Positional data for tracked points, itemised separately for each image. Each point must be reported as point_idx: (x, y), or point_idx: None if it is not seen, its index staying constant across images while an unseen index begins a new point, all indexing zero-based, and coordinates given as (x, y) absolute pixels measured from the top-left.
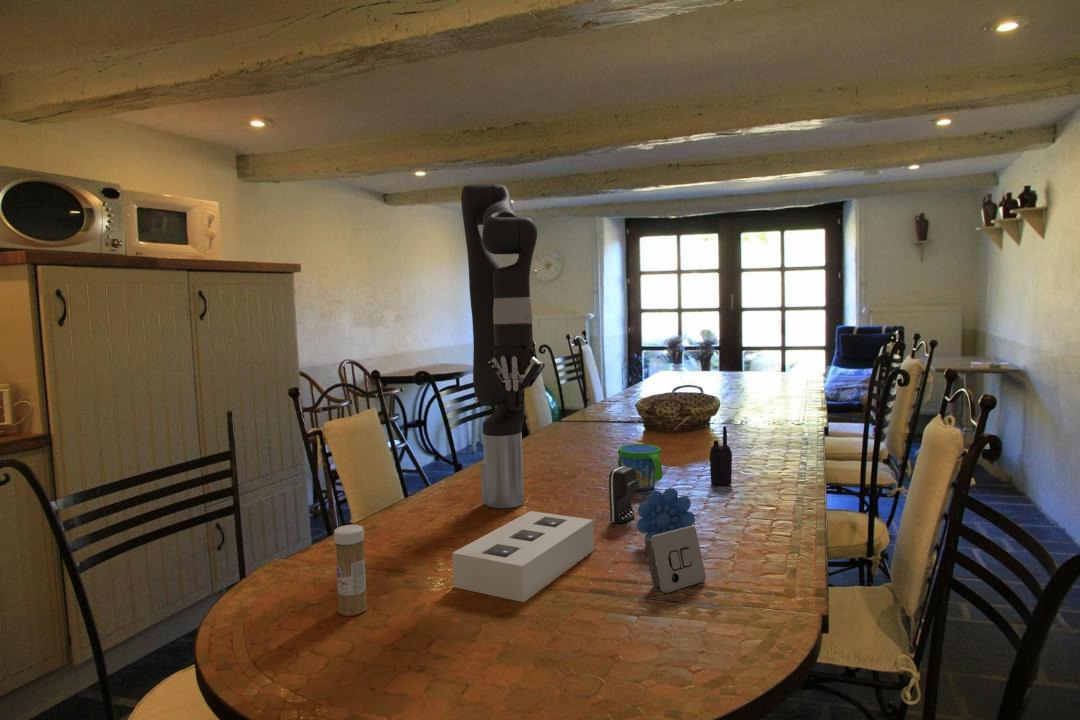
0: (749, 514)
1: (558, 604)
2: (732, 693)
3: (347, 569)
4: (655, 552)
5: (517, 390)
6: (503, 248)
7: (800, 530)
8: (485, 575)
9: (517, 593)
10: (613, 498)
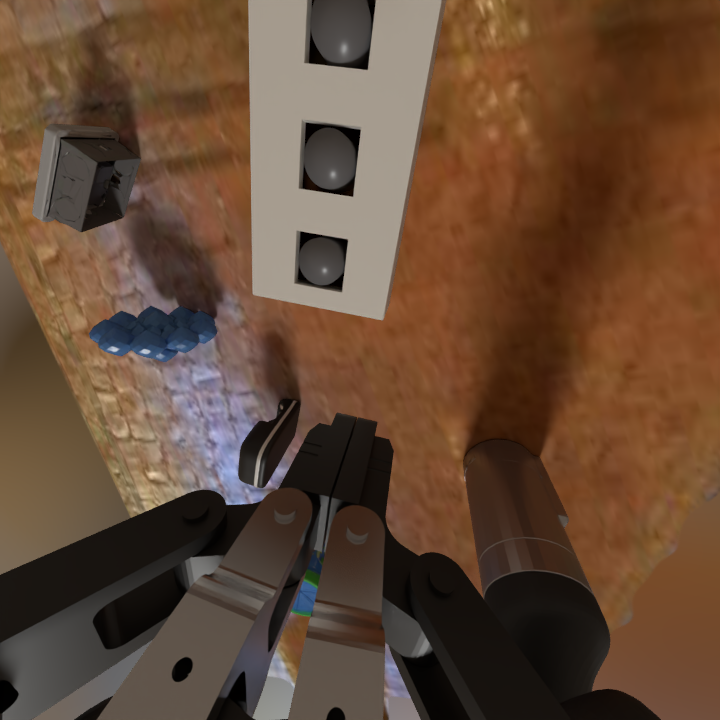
0: (161, 452)
1: (226, 4)
2: None
3: None
4: (72, 127)
5: (277, 490)
6: None
7: (94, 408)
8: None
9: None
10: (278, 421)
